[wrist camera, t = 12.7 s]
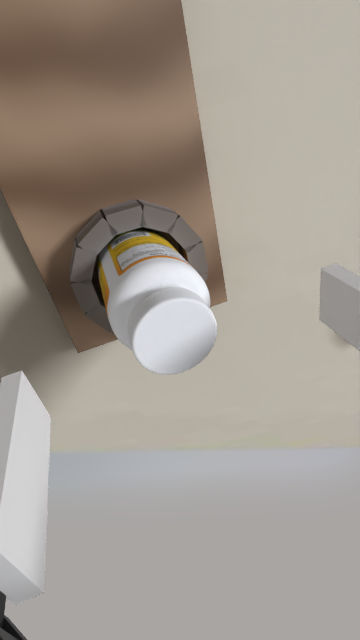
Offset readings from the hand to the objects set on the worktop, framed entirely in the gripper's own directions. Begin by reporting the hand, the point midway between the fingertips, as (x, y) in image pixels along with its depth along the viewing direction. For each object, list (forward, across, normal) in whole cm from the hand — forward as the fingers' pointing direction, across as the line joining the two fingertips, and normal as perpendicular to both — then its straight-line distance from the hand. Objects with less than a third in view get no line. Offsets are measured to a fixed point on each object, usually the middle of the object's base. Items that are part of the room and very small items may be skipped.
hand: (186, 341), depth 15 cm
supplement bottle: (+10, 0, 0) cm, 11 cm away
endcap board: (+12, 0, +6) cm, 13 cm away
